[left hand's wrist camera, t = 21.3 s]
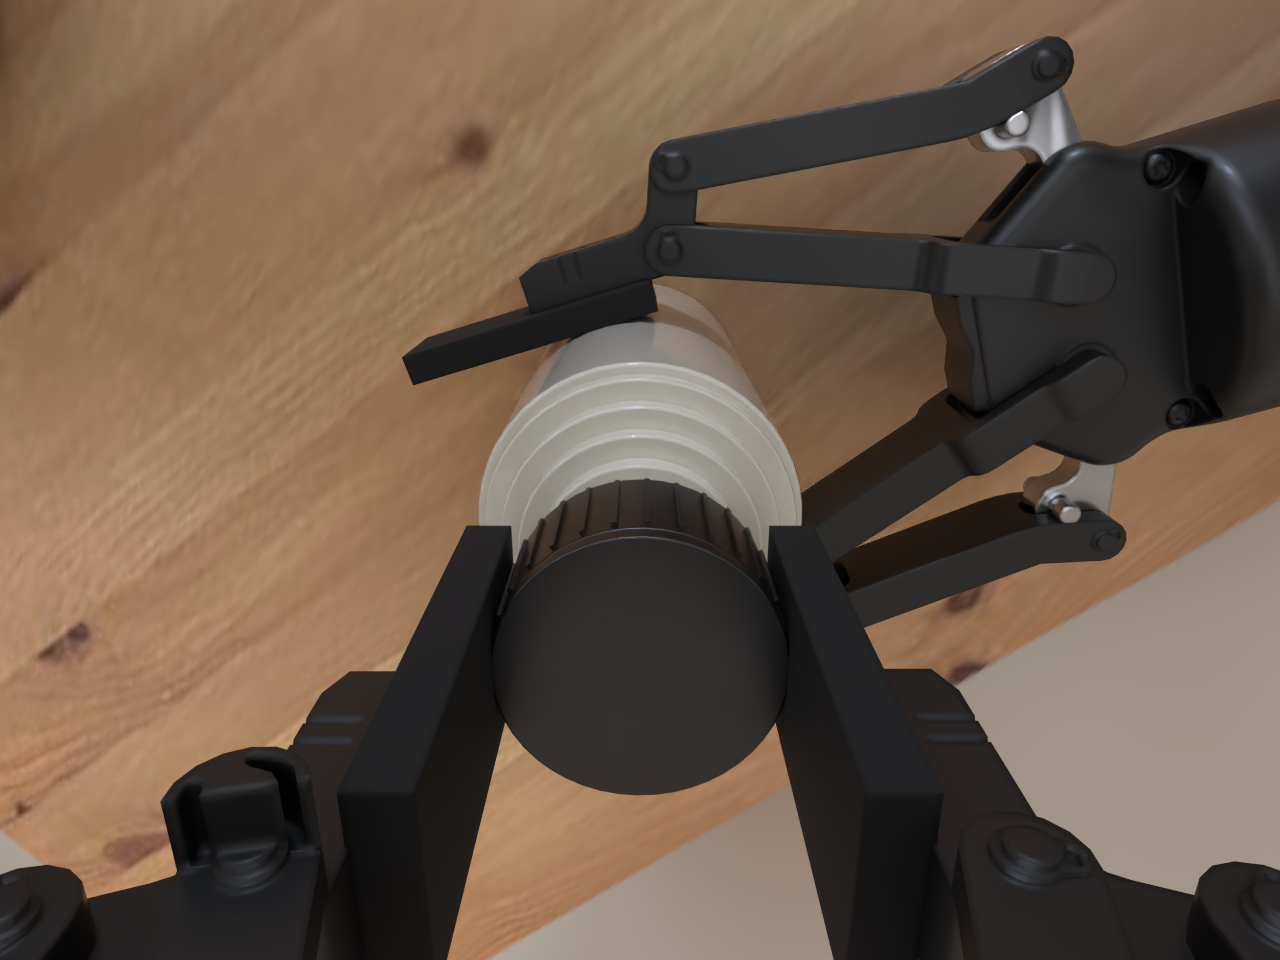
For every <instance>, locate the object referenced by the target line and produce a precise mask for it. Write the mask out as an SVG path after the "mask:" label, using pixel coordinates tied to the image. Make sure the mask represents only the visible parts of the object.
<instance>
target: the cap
mask: <svg viewBox="0 0 1280 960" xmlns="http://www.w3.org/2000/svg"><path fill="white" fill-rule="evenodd" d="M778 604H780V601H779V598H778V595H777V592H776V589H775V586H774V583H773V580H772V576H771V573H770V570H769V567H768V564H767V561H766V558H765V555H764V552H763V550H760V551H759V550H758V548H757V545H756V543H755V542H754V540H753V538H752V534H751V531H750V529H749V528H748V527H746V528H745V527H744V526H743V525H742V524H741V523H740V521H739V520H738V519H737V518H736V517H735V516H734V515H733V514H732V512H731V510H730V509H729V508H728V507H727V508H725V507H723V506H722V505H720V504H719V503H717V502H716V501H714V500H713V499H711V498H710V497H708V496H707V494H706V493H704V492H702V493H700V492H698V491H696V490H693V489H690V488H687V487H685V486H682V485H679V483H676V482H675V483H669V482H665V481H658V480H650V479H649V478H645V479H638V480H623V481H620V480H615V481H614V482H610V483H606V484H603V485H599V486H596V487H593V488H591V487H589V488H586V490H585V491H583V492H581V493H579V494H576V495H575V496H573V497H571V498H570V499H568V500H566V501H565V500H563V501H561V502H560V505H559V506H558V507H556V508H555V509H554V510H553V511H551V512H550V513H549V514H548V515H547V516H546V517H545V518H544V519H543V518H540V519H539V521H538V524H537V527H536V528H535V529H534V531H533V532H532V534H531V535H530V536H529V538H528V539H527V540H526V539H524V540H523V542H522V545H521V548H520V551H519V554H518V557H517V560H516V564H515V563H513V564H512V567H511V571H510V574H509V577H508V580H507V583H506V586H505V589H504V592H503V595H502V598H501V601H500V604H499V608H498V611H497V614H496V617H495V618H496V619H499V621H498V624H497V628H496V631H495V634H494V638H493V643H492V649H491V658H492V674H493V687H494V695H495V699H496V703H497V705H498V707H499V710H500V712H501V714H502V717H503V719H504V721H505V722H506V724H507V725H508V727H509V729H510V730H511V732H512V734H513V735H514V736H515V737H516V738H517V740H518V741H519V742H520V743H521V745H522V746H523V747H524V748H525V749H526V750H527V751H528V752H529V753H530V754H531V755H532V756H533V757H535V758H536V759H537V760H538V761H540V762H541V763H542V764H544V765H545V766H546V767H548V768H549V769H550V770H552V771H554V772H556V773H557V774H559V775H561V776H563V777H565V778H566V779H569V780H571V781H574V782H576V783H578V784H581V785H583V786H586V787H590V788H593V789H596V790H600V791H605V792H611V793H616V794H626V795H657V794H664V793H671V792H676V791H680V790H684V789H688V788H692V787H694V786H697V785H700V784H702V783H705V782H708V781H710V780H712V779H714V778H716V777H718V776H720V775H722V774H724V773H725V772H727V771H728V770H730V769H731V768H733V767H734V766H736V765H737V764H739V763H740V762H741V761H742V760H744V759H745V758H746V757H747V756H748V755H749V754H751V753H752V752H753V751H754V750H755V749H756V747H757V746H758V745H759V744H760V743H761V742H762V741H763V740H764V738H765V737H766V736H767V734H768V733H769V731H770V730H771V728H772V727H773V725H774V724H775V722H776V720H777V718H778V716H779V714H780V712H781V710H782V707H783V704H784V701H785V698H786V694H787V681H788V667H789V643H788V639H787V636H786V632H785V625H784V622H783V619H782V615H781V612H780V609H779V606H778Z"/></svg>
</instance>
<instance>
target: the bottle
mask: <svg viewBox="0 0 1280 960" xmlns="http://www.w3.org/2000/svg"><path fill="white" fill-rule="evenodd" d="M653 287H654V290H655V294H656V299H657V306H658V312H654V313H651V314H648V315H644V316H641V317H638V318H634V319H631V320H628V321H625V322H621V323H618V324H615V325H611V326H608V327H604V328H601V329H598V330H595V331H591V332H588V333H585V334H581V335H578V336H575V337H572V338H568V339H565V340H562V341H558V342H555V343H552V344H548V346H547V348H546V350H545V351H544V353H543V355H542V357H541V359H540V361H539V363H538V365H537V367H536V368H535V370H534V372H533V374H532V376H531V378H530V380H529V382H528V384H527V385H526V387H525V389H524V391H523V393H522V395H521V397H520V399H519V400H518V402H517V404H516V406H515V408H514V410H513V412H512V414H511V416H510V417H509V419H508V421H507V423H506V425H505V427H504V429H503V431H502V433H501V434H500V436H499V438H498V440H497V442H496V444H495V446H494V448H493V450H492V453H491V455H490V457H489V459H488V461H487V464H486V468H485V471H484V474H483V478H482V481H481V488H480V494H479V511H478V521H479V526H511V529H512V547H513V563H515V564H516V560H517V557H518V554H519V551H520V548H521V545H522V542H523V540H524V539H526V540H527V539H528V538H529V536H530V535H531V534H532V532H533V531H534V529H535V528H536V527H537V524H538V521H539V519H540V518H543V519H544V518H545V517H546V516H547V515H548V514H549V513H550V512H551V511H553V510H554V509H555V508H556V507H558V506H559V505H560V502H561V501H563V500H565V501H566V500H568V499H570V498H571V497H573V496H575V495H576V494H579V493H581V492H583V491H585V490H586V488H589V487H591V488H593V487H596V486H599V485H603V484H606V483H610V482H614V481H615V480H620V481H623V480H638V479H645V478H649V479H650V480H658V481H665V482H669V483H675V482H676V483H679V485H682V486H685V487H687V488H690V489H693V490H696V491H698V492H700V493H702V492H704V493H706V494H707V496H708V497H710V498H711V499H713V500H714V501H716V502H717V503H719V504H720V505H722V506H723V507H725V508H727V507H728V508H729V509H730V510H731V512H732V514H733V515H734V516H735V517H736V518H737V519H738V520H739V521H740V523H741V524H742V525H743V526H744V527H745V528H746V527H748V528H749V529H750V531H751V534H752V538H753V540H754V542H755V543H756V545H757V548H758V550H759V551H760V550H763V552H764V555H765V558H766V561H767V556H768V539H769V526H801V525H802V498H801V490H800V483H799V479H798V476H797V472H796V469H795V465H794V462H793V460H792V458H791V456H790V453H789V451H788V449H787V447H786V445H785V443H784V441H783V439H782V437H781V435H780V433H779V431H778V430H777V428H776V426H775V424H774V422H773V420H772V418H771V416H770V415H769V413H768V411H767V409H766V407H765V405H764V403H763V401H762V399H761V398H760V396H759V394H758V392H757V390H756V388H755V386H754V384H753V383H752V381H751V379H750V377H749V375H748V373H747V371H746V369H745V368H744V366H743V364H742V362H741V360H740V358H739V356H738V354H737V352H736V351H735V349H734V347H733V345H732V343H731V341H730V339H729V337H728V336H727V334H726V332H725V331H724V329H723V327H722V326H721V324H720V323H719V322H718V320H717V319H716V318H715V317H714V316H713V314H712V313H711V312H710V311H708V310H707V309H706V308H705V307H704V306H703V305H702V304H700V303H699V302H698V301H696V300H695V299H693V298H692V297H690V296H688V295H686V294H684V293H682V292H680V291H678V290H675V289H672V288H669V287H666V286H661V285H656V284H653Z"/></svg>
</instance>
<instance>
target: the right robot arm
mask: <svg viewBox="0 0 1280 960" xmlns="http://www.w3.org/2000/svg"><path fill="white" fill-rule="evenodd" d="M1073 64H1074V58H1073V51H1072V49H1071V48H1070V46H1069V45H1068V43H1067V42H1066V41H1064V40H1063V39H1061V38H1059V37H1051V36H1047V37H1044V38H1041V39H1038V40H1035V41H1032V42H1028V43H1025V44H1022V45H1019V46H1016V47H1013V48H1011V49H1008V50H1005V51H1002V52H999V53H997V54H994V55H993V56H991V57H989V58H988V59H986V60H984V61H983V62H981V63H979V64H978V65H976V66H974V67H973V68H971V69H969V70H968V71H966V72H964V73H963V74H961V75H959V76H958V77H956V78H954V79H953V80H951V81H949V82H948V83H946V84H944V85H943V86H941V87H938V88H933V89H927V90H922V91H917V92H912V93H907V94H902V95H897V96H892V97H887V98H881V99H876V100H871V101H866V102H861V103H856V104H851V105H846V106H841V107H836V108H830V109H825V110H820V111H815V112H810V113H805V114H800V115H795V116H790V117H785V118H779V119H774V120H769V121H764V122H759V123H754V124H749V125H744V126H739V127H733V128H728V129H723V130H718V131H713V132H708V133H703V134H698V135H693V136H688V137H682V138H677V139H672V140H669V141H667V142H664V143H662V144H661V145H660V146H659V147H658V148H657V149H656V150H655V151H654V152H653V154H652V156H651V158H650V161H649V173H648V191H647V205H646V211H645V214H644V216H643V218H642V220H641V221H640V222H639V224H638V225H637V226H635V227H634V228H633V229H632V230H630V231H627V232H625V233H622V234H619V235H616V236H612V237H609V238H606V239H603V240H600V241H596V242H593V243H590V244H587V245H584V246H580V247H578V248H574V249H571V250H568V251H565V252H562V253H558V254H555V255H552V256H549V257H545V258H542V259H541V260H539V261H538V262H537V263H536V264H535V265H533V266H532V267H531V268H530V269H529V270H528V271H526V272H525V273H524V274H523V275H522V276H521V277H520V278H519V279H520V282H521V285H522V288H523V291H524V294H525V297H526V300H527V303H528V305H529V306H528V307H525V308H522V309H519V310H515V311H512V312H509V313H506V314H502V315H499V316H496V317H493V318H489V319H486V320H483V321H480V322H476V323H473V324H470V325H467V326H463V327H460V328H457V329H454V330H450V331H447V332H444V333H441V334H437V335H434V336H431V337H428V338H426V339H425V340H424V341H422V342H421V343H420V344H419V345H417V346H416V347H415V348H413V349H412V350H411V351H410V352H408V353H407V354H406V355H404V356H403V357H402V359H403V361H404V364H405V366H406V369H407V371H408V374H409V376H410V379H411V381H412V384H413V385H416V384H419V383H423V382H426V381H429V380H432V379H436V378H439V377H442V376H446V375H449V374H452V373H456V372H459V371H462V370H466V369H469V368H472V367H476V366H479V365H482V364H485V363H489V362H492V361H495V360H499V359H502V358H505V357H509V356H512V355H515V354H519V353H522V352H525V351H529V350H532V349H535V348H538V347H542V346H545V345H548V344H552V343H555V342H558V341H562V340H565V339H568V338H572V337H575V336H578V335H581V334H585V333H588V332H591V331H595V330H598V329H601V328H604V327H608V326H611V325H615V324H618V323H621V322H625V321H628V320H631V319H634V318H638V317H641V316H644V315H648V314H651V313H654V312H658V306H657V299H656V294H655V290H654V287H653V283H652V279H656V278H659V277H662V276H665V275H667V276H679V277H695V278H712V279H728V280H745V281H761V282H778V283H794V284H811V285H827V286H844V287H860V288H877V289H893V290H909V291H919V292H925V293H931V296H932V302H933V308H934V313H935V316H936V318H937V320H938V322H939V324H940V326H941V328H942V330H943V332H944V334H945V336H946V338H947V346H946V356H945V367H944V369H945V374H946V380H947V386H948V387H947V388H946V389H944V390H943V391H941V392H940V393H938V394H937V395H935V396H934V397H932V398H931V399H929V400H928V401H927V402H925V403H924V404H923V405H922V406H921V407H920V408H919V411H918V413H917V415H916V416H915V417H914V418H913V419H912V420H910V421H909V422H907V423H906V424H904V425H903V426H901V427H900V428H898V429H897V430H895V431H894V432H892V433H891V434H889V435H888V436H886V437H885V438H883V439H882V440H880V441H879V442H877V443H876V444H874V445H873V446H871V447H870V448H868V449H867V450H865V451H864V452H862V453H861V454H859V455H858V456H856V457H855V458H853V459H852V460H850V461H849V462H847V463H846V464H844V465H843V466H841V467H840V468H838V469H837V470H835V471H834V472H832V473H831V474H829V475H828V476H826V477H825V478H823V479H822V480H820V481H819V482H817V483H816V484H814V485H813V486H811V487H810V488H808V489H807V490H805V491H804V492H802V493H801V498H802V525H801V526H814V527H815V529H816V531H817V533H818V535H819V537H820V539H821V541H822V543H823V546H824V548H825V550H826V552H827V554H828V556H829V558H830V560H831V562H832V564H833V566H834V568H835V570H836V572H837V574H838V576H839V578H840V580H841V582H842V584H843V586H844V588H845V591H846V593H847V595H848V597H849V599H850V601H851V603H852V605H853V607H854V609H855V611H856V613H857V615H858V617H859V619H860V621H861V623H862V625H863V627H867V626H870V625H873V624H875V623H878V622H881V621H884V620H886V619H889V618H892V617H895V616H897V615H900V614H903V613H906V612H908V611H911V610H914V609H917V608H920V607H922V606H925V605H928V604H931V603H933V602H936V601H939V600H942V599H944V598H947V597H950V596H953V595H955V594H958V593H961V592H964V591H966V590H969V589H972V588H975V587H978V586H980V585H983V584H986V583H989V582H991V581H994V580H997V579H1000V578H1002V577H1005V576H1008V575H1011V574H1013V573H1016V572H1019V571H1022V570H1025V569H1027V568H1030V567H1033V566H1036V565H1038V564H1044V563H1064V562H1084V561H1102V560H1107V559H1110V558H1112V557H1114V556H1115V555H1117V554H1118V553H1119V552H1120V551H1121V550H1122V549H1123V547H1124V545H1125V542H1126V532H1125V530H1124V528H1123V527H1122V525H1120V524H1119V523H1117V522H1116V521H1115V520H1113V519H1112V518H1111V517H1109V510H1110V503H1111V496H1112V489H1113V482H1114V476H1115V469H1116V463H1119V462H1122V461H1124V460H1126V459H1128V458H1130V457H1131V456H1133V455H1134V454H1135V453H1137V452H1138V451H1139V450H1140V449H1141V448H1143V447H1144V446H1145V445H1146V444H1148V443H1149V442H1151V441H1152V440H1154V439H1155V438H1157V437H1159V436H1160V435H1162V434H1164V433H1167V432H1169V431H1172V430H1177V429H1182V428H1188V427H1194V426H1201V425H1207V424H1213V423H1218V422H1223V421H1227V420H1231V419H1234V418H1238V417H1242V416H1245V415H1249V414H1253V413H1256V412H1260V411H1264V410H1268V409H1271V408H1275V407H1279V406H1280V99H1278V100H1273V101H1269V102H1266V103H1262V104H1259V105H1256V106H1253V107H1249V108H1246V109H1243V110H1239V111H1236V112H1233V113H1230V114H1226V115H1223V116H1220V117H1217V118H1213V119H1210V120H1207V121H1203V122H1200V123H1197V124H1194V125H1190V126H1187V127H1184V128H1181V129H1177V130H1174V131H1171V132H1167V133H1164V134H1161V135H1158V136H1154V137H1151V138H1148V139H1145V140H1141V141H1138V142H1135V143H1132V144H1128V145H1124V146H1119V147H1116V146H1111V145H1107V144H1103V143H1100V142H1093V141H1083V142H1082V140H1081V138H1080V135H1079V132H1078V130H1077V127H1076V124H1075V122H1074V119H1073V116H1072V114H1071V111H1070V108H1069V106H1068V103H1067V100H1066V98H1065V95H1064V92H1063V90H1062V86H1063V85H1064V84H1065V83H1066V82H1067V80H1068V78H1069V77H1070V75H1071V73H1072V69H1073ZM965 137H967V138H968V140H969V142H970V143H971V145H972V146H973V147H974V148H976V149H977V150H979V151H982V152H1004V151H1008V150H1012V149H1014V150H1016V151H1018V152H1020V153H1021V154H1022V155H1023V156H1024V158H1025V159H1026V161H1027V163H1026V164H1025V165H1024V166H1023V168H1022V169H1021V170H1020V171H1019V172H1018V173H1017V175H1016V176H1015V177H1014V178H1013V179H1012V180H1011V182H1010V183H1009V184H1008V185H1007V186H1006V187H1005V189H1004V190H1003V191H1002V192H1001V193H1000V194H999V196H998V197H997V198H996V199H995V200H994V201H993V203H992V204H991V205H990V206H989V207H988V208H987V210H986V211H985V212H984V213H983V214H982V215H981V216H980V218H979V219H978V220H977V221H976V222H975V223H974V225H973V226H972V227H971V228H970V229H969V230H968V232H967V233H966V234H965V235H964V236H963V237H957V236H941V235H925V234H908V233H899V234H894V233H877V232H861V231H845V230H829V229H813V228H797V227H781V226H764V225H748V224H732V223H716V222H700V221H695V218H696V205H697V192H698V190H700V189H705V188H710V187H715V186H720V185H726V184H731V183H736V182H741V181H747V180H752V179H757V178H762V177H767V176H773V175H778V174H783V173H788V172H793V171H799V170H804V169H809V168H814V167H820V166H825V165H830V164H835V163H840V162H846V161H851V160H856V159H861V158H866V157H872V156H877V155H882V154H887V153H892V152H898V151H903V150H908V149H913V148H919V147H924V146H929V145H934V144H939V143H945V142H950V141H954V140H958V139H961V138H965ZM1031 445H1036V446H1039V447H1042V448H1044V449H1047V450H1050V451H1053V452H1056V453H1059V454H1061V455H1064V459H1063V461H1062V463H1061V464H1060V465H1059V466H1058V467H1057V468H1056V469H1055V470H1054V471H1052V472H1050V473H1048V474H1044V475H1041V476H1038V477H1037V476H1032V477H1030V478H1028V479H1027V480H1026V481H1025V482H1024V485H1023V489H1024V492H1016V493H1009V494H1004V495H999V496H994V497H991V498H988V499H985V500H982V501H979V502H976V503H973V504H971V505H968V506H965V507H963V508H960V509H957V510H955V511H952V512H950V513H947V514H944V515H942V516H939V517H936V518H934V519H931V520H928V521H926V522H923V523H920V524H918V525H915V526H912V527H910V528H907V529H904V530H902V531H899V532H896V533H894V534H891V535H888V536H886V537H883V538H880V539H878V540H875V541H872V542H870V543H867V544H864V545H862V546H859V547H857V546H858V545H860V544H861V543H863V542H865V541H866V540H868V539H869V538H871V537H872V536H874V535H875V534H877V533H879V532H880V531H882V530H883V529H885V528H886V527H888V526H889V525H891V524H893V523H894V522H896V521H897V520H899V519H900V518H902V517H904V516H905V515H907V514H908V513H910V512H911V511H913V510H914V509H916V508H918V507H919V506H921V505H922V504H924V503H925V502H927V501H928V500H930V499H932V498H933V497H935V496H936V495H938V494H939V493H941V492H942V491H944V490H946V489H947V488H949V487H950V486H952V485H953V484H955V483H956V482H958V481H960V480H961V479H963V478H965V477H968V476H977V475H983V474H986V473H988V472H990V471H992V470H994V469H995V468H997V467H999V466H1000V465H1002V464H1003V463H1005V462H1006V461H1008V460H1010V459H1011V458H1013V457H1014V456H1016V455H1017V454H1019V453H1020V452H1022V451H1024V450H1025V449H1027V448H1028V447H1030V446H1031ZM855 547H856V548H855Z"/></svg>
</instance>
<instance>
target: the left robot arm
mask: <svg viewBox="0 0 1280 960" xmlns="http://www.w3.org/2000/svg"><path fill="white" fill-rule="evenodd" d="M512 564H513V547H512V529H511V526H466V528H465V530H464V532H463V534H462V536H461V538H460V541H459V543H458V545H457V547H456V549H455V551H454V553H453V555H452V557H451V559H450V561H449V563H448V565H447V567H446V569H445V571H444V573H443V575H442V577H441V579H440V581H439V584H438V586H437V588H436V590H435V592H434V594H433V596H432V598H431V600H430V602H429V604H428V606H427V608H426V610H425V612H424V614H423V616H422V618H421V620H420V622H419V624H418V626H417V629H416V631H415V633H414V635H413V637H412V639H411V641H410V643H409V645H408V647H407V649H406V651H405V653H404V655H403V657H402V659H401V661H400V663H399V665H398V667H397V669H396V671H350V672H349V673H347V674H346V675H345V676H343V677H342V678H341V679H340V680H338V681H337V682H336V683H334V684H333V685H332V686H330V687H329V688H328V689H327V690H325V691H324V692H323V693H322V694H321V695H320V697H319V699H318V700H317V702H316V703H315V705H314V707H313V708H312V710H311V712H310V713H309V715H308V717H307V718H306V724H303V725H302V726H301V728H300V730H299V731H298V733H297V735H296V736H295V738H294V742H293V745H290V746H289V748H288V749H287V750H286V749H282V748H279V747H249V748H245V749H241V750H237V751H232V752H228V753H224V754H221V755H219V756H217V757H215V758H213V759H210V760H208V761H206V762H204V763H202V764H200V765H197V766H196V767H194V768H193V769H192V770H190V771H189V772H188V773H186V774H185V775H184V776H182V777H181V778H180V779H178V780H177V781H176V782H174V783H173V785H172V786H171V788H170V789H169V790H168V792H167V793H166V794H165V796H164V797H163V799H162V800H161V801H160V802H161V806H162V810H163V814H164V818H165V823H166V827H167V831H168V835H169V839H170V843H171V847H172V851H173V856H174V860H175V864H176V868H177V872H176V875H174V876H172V877H169V878H165V879H162V880H159V881H156V882H153V883H150V884H145V885H141V886H137V887H133V888H129V889H125V890H121V891H116V892H112V893H108V894H104V895H100V896H96V897H91V898H87V896H86V893H85V890H84V886H83V883H82V881H81V880H80V879H79V878H78V877H77V876H76V875H75V874H74V873H73V872H72V871H71V870H70V869H66V868H61V867H56V866H51V865H42V866H34V867H26V868H18V869H15V870H12V871H10V872H7V873H4V874H1V875H0V960H447V957H448V953H449V949H450V945H451V941H452V937H453V933H454V928H455V924H456V920H457V916H458V912H459V908H460V904H461V900H462V896H463V892H464V888H465V883H466V879H467V875H468V871H469V867H470V863H471V859H472V855H473V851H474V847H475V843H476V839H477V834H478V830H479V826H480V822H481V818H482V814H483V810H484V806H485V802H486V798H487V794H488V790H489V785H490V781H491V777H492V773H493V769H494V765H495V761H496V757H497V753H498V749H499V745H500V741H501V736H502V732H503V728H504V724H505V721H504V719H503V717H502V714H501V712H500V710H499V707H498V705H497V703H496V699H495V695H494V687H493V674H492V658H491V649H492V643H493V638H494V634H495V631H496V628H497V624H498V621H499V619H496V618H495V617H496V614H497V611H498V608H499V604H500V601H501V598H502V595H503V592H504V589H505V586H506V583H507V580H508V577H509V574H510V571H511V567H512ZM767 564H768V567H769V570H770V573H771V576H772V580H773V583H774V586H775V589H776V592H777V595H778V598H779V601H780V604H778V606H779V609H780V612H781V615H782V619H783V622H784V625H785V632H786V636H787V639H788V643H789V667H788V681H787V694H786V698H785V701H784V704H783V707H782V710H781V712H780V714H779V716H778V718H777V720H776V726H777V730H778V734H779V738H780V742H781V747H782V751H783V755H784V759H785V763H786V767H787V771H788V775H789V779H790V783H791V787H792V791H793V796H794V800H795V804H796V808H797V811H798V816H799V820H800V824H801V828H802V832H803V836H804V840H805V845H806V849H807V852H808V857H809V861H810V865H811V869H812V873H813V877H814V881H815V885H816V889H817V893H818V898H819V902H820V906H821V910H822V914H823V918H824V922H825V926H826V930H827V934H828V938H829V942H830V947H831V951H832V955H833V959H834V960H1280V871H1279V870H1276V869H1274V868H1271V867H1268V866H1265V865H1259V864H1251V863H1243V862H1235V861H1234V862H1229V863H1224V864H1219V865H1214V866H1211V867H1210V868H1209V869H1208V870H1207V871H1206V872H1205V873H1204V874H1203V875H1202V876H1201V877H1200V878H1199V882H1198V885H1197V889H1196V892H1195V895H1191V894H1187V893H1183V892H1179V891H1175V890H1170V889H1166V888H1162V887H1158V886H1154V885H1150V884H1145V883H1141V882H1137V881H1133V880H1129V879H1126V878H1123V877H1120V876H1117V875H1114V874H1110V873H1108V872H1105V871H1103V869H1102V867H1101V866H1100V864H1099V862H1098V861H1097V859H1096V858H1095V856H1094V855H1093V853H1092V851H1091V850H1090V849H1089V848H1088V847H1087V846H1086V845H1084V844H1083V843H1082V842H1081V841H1080V840H1079V839H1077V838H1076V837H1075V836H1074V835H1073V834H1071V833H1070V832H1069V831H1067V830H1065V829H1063V828H1061V827H1059V826H1057V825H1055V824H1053V823H1051V822H1049V821H1048V820H1046V819H1044V818H1040V817H1037V816H1036V815H1035V813H1034V812H1033V810H1032V808H1031V807H1030V805H1029V803H1028V802H1027V800H1026V799H1025V797H1024V795H1023V794H1022V792H1021V790H1020V789H1019V787H1018V786H1017V784H1016V782H1015V781H1014V779H1013V777H1012V776H1011V774H1010V772H1009V771H1008V769H1007V768H1006V766H1005V764H1004V763H1003V761H1002V759H1001V758H1000V756H999V755H998V753H997V751H996V750H995V748H994V746H993V745H992V743H991V742H988V737H987V735H986V733H985V732H984V730H983V728H982V727H981V725H980V724H979V722H978V721H975V715H974V714H973V712H972V711H971V709H970V707H969V706H968V704H967V702H966V701H965V699H964V698H963V696H962V694H961V693H960V691H959V690H958V689H957V688H955V687H954V686H953V685H951V684H950V683H949V682H947V681H946V680H945V679H943V678H942V677H941V676H940V675H938V674H937V673H936V672H934V671H933V670H932V669H884V668H883V666H882V664H881V662H880V660H879V658H878V656H877V654H876V652H875V650H874V648H873V646H872V644H871V642H870V640H869V638H868V636H867V633H866V631H865V629H864V627H863V625H862V623H861V621H860V619H859V617H858V615H857V613H856V611H855V609H854V607H853V605H852V603H851V601H850V599H849V597H848V595H847V593H846V591H845V588H844V586H843V584H842V582H841V580H840V578H839V576H838V574H837V572H836V570H835V568H834V566H833V564H832V562H831V560H830V558H829V556H828V554H827V552H826V550H825V548H824V546H823V543H822V541H821V539H820V537H819V535H818V533H817V531H816V529H815V527H814V526H769V539H768V556H767Z"/></svg>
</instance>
